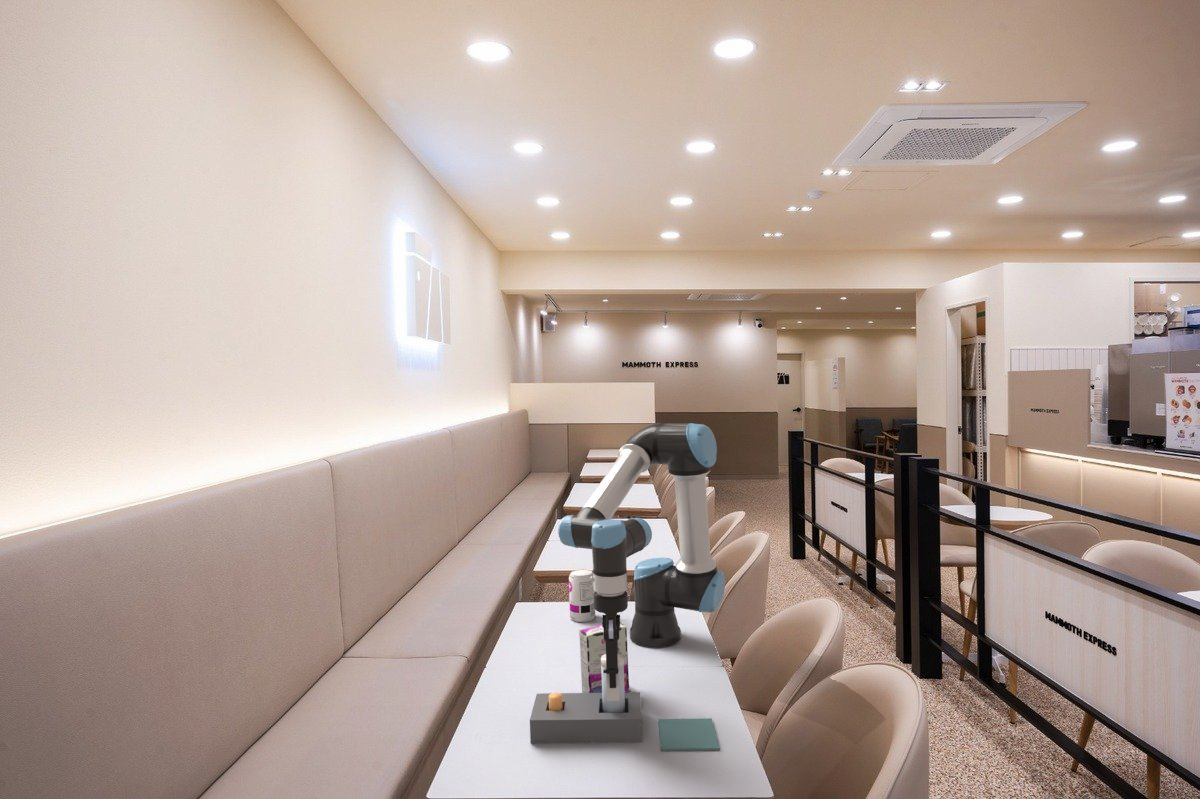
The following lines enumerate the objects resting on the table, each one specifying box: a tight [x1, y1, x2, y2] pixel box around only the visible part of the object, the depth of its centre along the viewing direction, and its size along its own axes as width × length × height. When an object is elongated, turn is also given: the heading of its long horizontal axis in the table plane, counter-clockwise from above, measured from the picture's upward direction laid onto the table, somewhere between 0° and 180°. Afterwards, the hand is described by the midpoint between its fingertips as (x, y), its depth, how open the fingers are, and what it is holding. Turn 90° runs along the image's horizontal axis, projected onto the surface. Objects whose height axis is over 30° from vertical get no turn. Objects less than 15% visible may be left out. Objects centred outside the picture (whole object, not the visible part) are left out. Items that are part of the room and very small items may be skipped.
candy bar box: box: [578, 622, 630, 693], centre depth 166 cm, size 11×5×16 cm, turn 117°
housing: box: [529, 691, 643, 744], centre depth 150 cm, size 24×12×5 cm, turn 88°
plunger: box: [549, 692, 563, 711], centre depth 150 cm, size 3×3×6 cm
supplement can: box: [568, 568, 596, 623], centre depth 217 cm, size 8×8×15 cm
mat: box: [657, 717, 720, 752], centre depth 146 cm, size 12×12×1 cm
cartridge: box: [601, 654, 625, 713], centre depth 150 cm, size 5×5×15 cm
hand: (613, 693), depth 150 cm, fingers closed on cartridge, 5 cm apart
